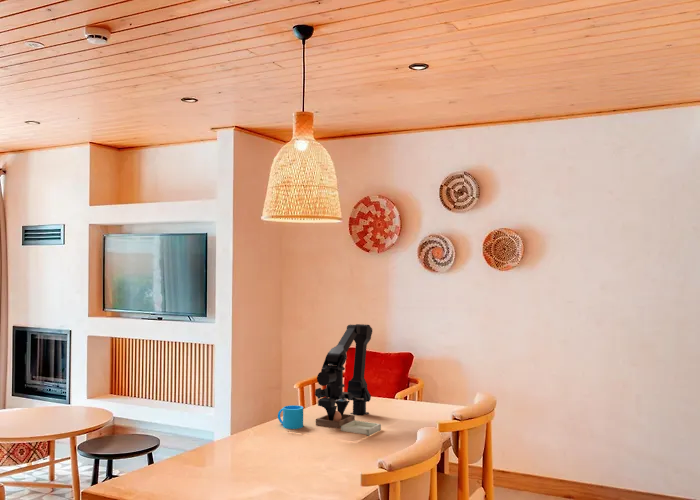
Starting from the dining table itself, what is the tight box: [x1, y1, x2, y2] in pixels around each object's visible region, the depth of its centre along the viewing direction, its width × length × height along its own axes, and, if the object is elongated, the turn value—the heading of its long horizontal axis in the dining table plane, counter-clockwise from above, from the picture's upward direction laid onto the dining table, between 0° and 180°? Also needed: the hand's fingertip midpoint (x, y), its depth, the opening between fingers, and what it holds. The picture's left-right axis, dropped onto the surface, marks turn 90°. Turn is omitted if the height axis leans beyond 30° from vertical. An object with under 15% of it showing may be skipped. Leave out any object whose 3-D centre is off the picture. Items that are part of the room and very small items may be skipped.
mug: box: [277, 404, 304, 430], centre depth 249 cm, size 12×8×8 cm
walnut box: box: [315, 413, 356, 429], centre depth 253 cm, size 14×11×3 cm
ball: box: [333, 410, 342, 422], centre depth 253 cm, size 5×5×5 cm
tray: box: [340, 419, 382, 437], centre depth 243 cm, size 11×12×2 cm
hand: (335, 420), depth 253 cm, fingers open, 7 cm apart
